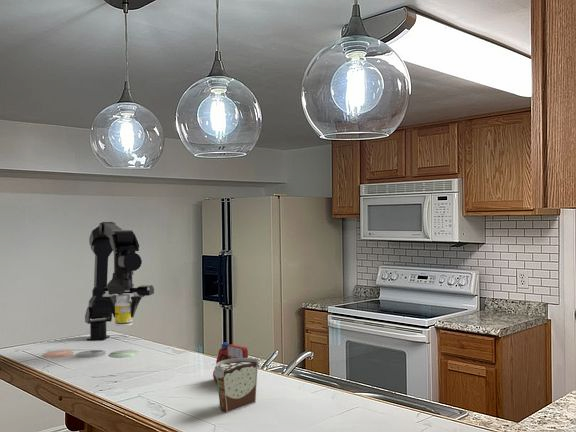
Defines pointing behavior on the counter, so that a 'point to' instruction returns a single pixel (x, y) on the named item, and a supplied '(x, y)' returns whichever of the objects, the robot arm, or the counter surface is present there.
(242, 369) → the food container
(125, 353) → the sage coaster
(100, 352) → the slate coaster
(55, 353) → the terracotta coaster
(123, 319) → the supplement bottle
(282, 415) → the counter surface
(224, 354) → the toy fire truck
